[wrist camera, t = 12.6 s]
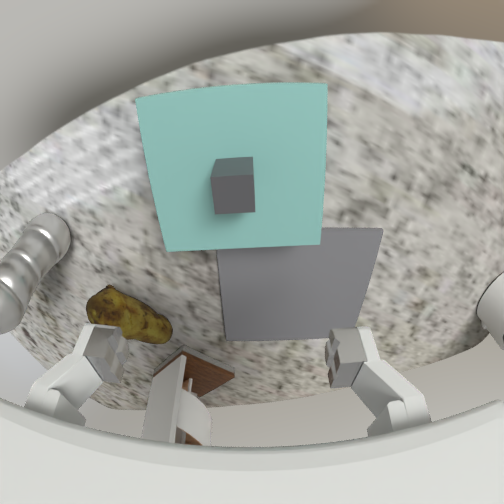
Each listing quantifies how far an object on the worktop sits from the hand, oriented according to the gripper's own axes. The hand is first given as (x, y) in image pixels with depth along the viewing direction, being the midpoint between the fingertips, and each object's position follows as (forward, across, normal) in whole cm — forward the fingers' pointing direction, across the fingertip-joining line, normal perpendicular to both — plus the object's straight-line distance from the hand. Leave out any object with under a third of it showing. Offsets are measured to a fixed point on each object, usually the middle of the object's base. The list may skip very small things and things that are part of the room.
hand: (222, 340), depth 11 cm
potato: (+23, +16, +21) cm, 35 cm away
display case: (+23, +10, +39) cm, 46 cm away
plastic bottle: (+23, +25, +8) cm, 35 cm away
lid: (+18, 0, 0) cm, 18 cm away
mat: (+23, -7, +19) cm, 30 cm away
